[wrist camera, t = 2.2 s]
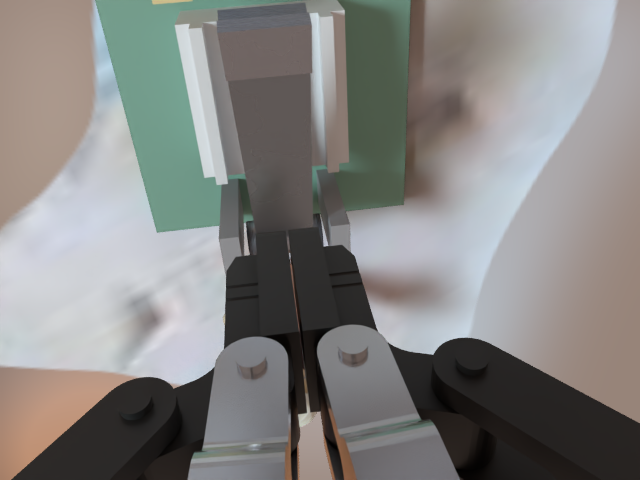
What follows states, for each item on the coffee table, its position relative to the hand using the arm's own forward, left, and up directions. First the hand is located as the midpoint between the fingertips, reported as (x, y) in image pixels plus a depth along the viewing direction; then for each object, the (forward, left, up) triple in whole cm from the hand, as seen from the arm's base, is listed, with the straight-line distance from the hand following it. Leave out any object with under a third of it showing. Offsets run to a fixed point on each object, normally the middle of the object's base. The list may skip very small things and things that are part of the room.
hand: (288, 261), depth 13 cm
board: (+2, 0, -21) cm, 21 cm away
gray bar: (+2, 0, -13) cm, 13 cm away
